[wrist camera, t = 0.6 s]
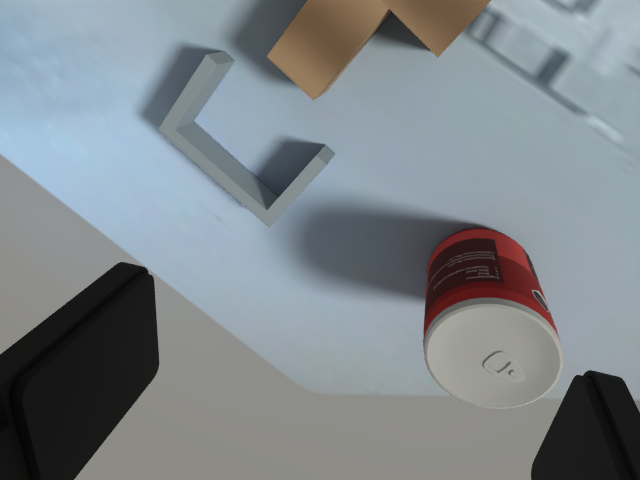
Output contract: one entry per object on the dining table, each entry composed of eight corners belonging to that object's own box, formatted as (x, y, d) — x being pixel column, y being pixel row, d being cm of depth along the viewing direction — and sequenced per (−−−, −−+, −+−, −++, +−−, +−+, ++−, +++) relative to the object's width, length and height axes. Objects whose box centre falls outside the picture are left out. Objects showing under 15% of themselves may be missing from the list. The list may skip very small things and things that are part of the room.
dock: (224, 51, 34) (206, 54, 32) (335, 153, 36) (326, 165, 33) (177, 121, 38) (157, 129, 35) (280, 213, 39) (269, 227, 36)
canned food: (503, 324, 39) (524, 427, 29) (412, 288, 39) (402, 379, 30) (552, 248, 35) (594, 337, 25) (451, 210, 36) (454, 283, 26)
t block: (345, -146, 28) (331, -169, 24) (486, 0, 29) (492, -1, 26) (241, 11, 33) (218, 11, 29) (366, 129, 34) (358, 142, 31)
